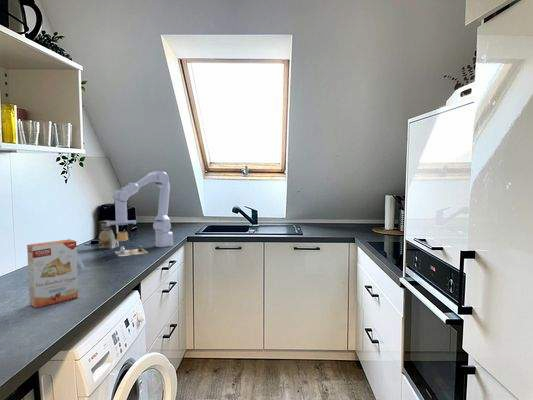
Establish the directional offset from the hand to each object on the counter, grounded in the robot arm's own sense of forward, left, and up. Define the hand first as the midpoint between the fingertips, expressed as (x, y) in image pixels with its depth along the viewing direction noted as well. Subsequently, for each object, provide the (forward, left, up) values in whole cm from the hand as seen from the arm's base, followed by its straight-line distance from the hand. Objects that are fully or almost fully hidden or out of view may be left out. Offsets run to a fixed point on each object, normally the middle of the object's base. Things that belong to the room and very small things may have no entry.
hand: (122, 238), depth 198 cm
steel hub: (0, 0, -8) cm, 8 cm away
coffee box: (+4, -21, -9) cm, 23 cm away
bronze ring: (0, 0, -1) cm, 1 cm away
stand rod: (-9, 0, -8) cm, 12 cm away
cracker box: (+34, +60, -9) cm, 69 cm away
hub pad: (0, 0, -8) cm, 8 cm away
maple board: (-4, 0, -9) cm, 10 cm away
